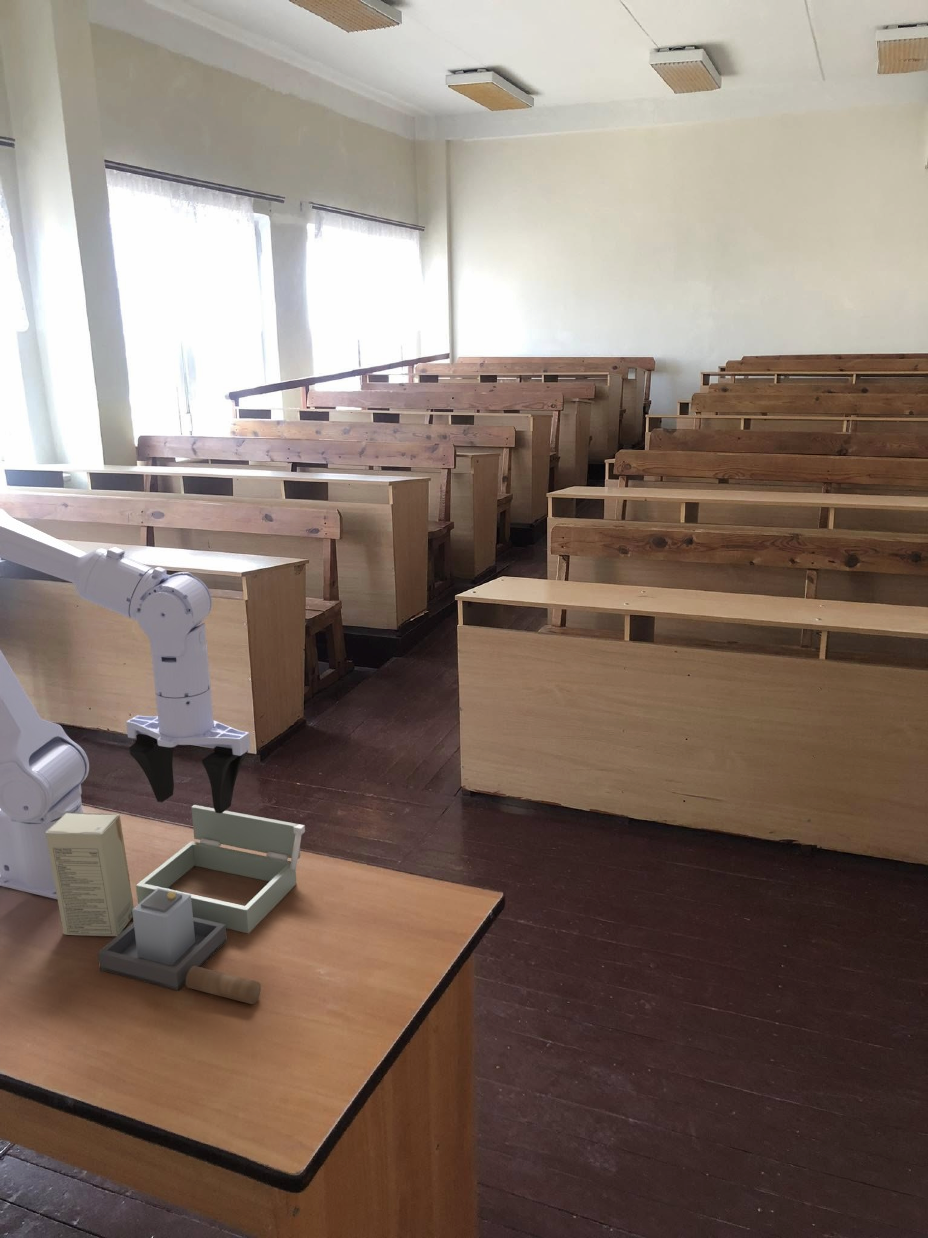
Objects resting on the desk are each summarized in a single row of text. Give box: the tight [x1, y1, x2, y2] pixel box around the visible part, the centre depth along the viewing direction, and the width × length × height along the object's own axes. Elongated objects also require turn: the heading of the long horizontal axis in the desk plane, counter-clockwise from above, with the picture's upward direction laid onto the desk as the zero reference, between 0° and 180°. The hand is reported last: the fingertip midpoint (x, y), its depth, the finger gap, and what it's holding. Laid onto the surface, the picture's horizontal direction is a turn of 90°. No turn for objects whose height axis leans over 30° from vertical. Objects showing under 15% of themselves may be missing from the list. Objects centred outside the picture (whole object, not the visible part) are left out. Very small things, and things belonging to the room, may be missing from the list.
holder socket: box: [97, 917, 228, 991], centre depth 94 cm, size 9×8×2 cm
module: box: [132, 888, 195, 965], centre depth 94 cm, size 4×4×6 cm
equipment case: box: [135, 804, 306, 934], centre depth 104 cm, size 15×11×7 cm
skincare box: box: [46, 812, 135, 937], centre depth 98 cm, size 6×4×12 cm
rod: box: [185, 966, 262, 1005], centre depth 89 cm, size 7×2×2 cm, turn 70°
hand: (193, 803), depth 104 cm, fingers open, 7 cm apart
